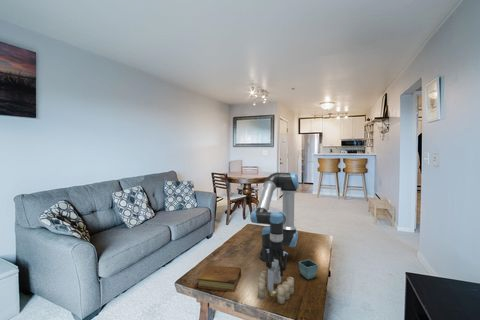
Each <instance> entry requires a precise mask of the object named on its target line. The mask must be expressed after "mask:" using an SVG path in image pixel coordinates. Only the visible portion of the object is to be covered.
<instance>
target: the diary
mask: <svg viewBox="0 0 480 320" xmlns="http://www.w3.org/2000/svg"><path fill="white" fill-rule="evenodd" d="M241 277H242V268H241V267H234V266H232V267H231V266H225V265H224V266H223V265H213V264H206V266H205V267H204V269H203V270H202V271H201V272H200V274H199V275H198V276H197V278H196V280H197V282H198V284H197V285H196V288H197V287H198V289H204V290H211V291H212V290H214V291H222V292H228V291H229V292H235V291H236V290H237V286H238V285H239V282H240V279H241Z"/></svg>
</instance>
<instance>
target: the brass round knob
mask: <svg viewBox="0 0 480 320" xmlns="http://www.w3.org/2000/svg"><path fill="white" fill-rule="evenodd" d="M268 295H269V297H271V298H277V287H276V288H275V287H274V291H273V292H272V291H268Z"/></svg>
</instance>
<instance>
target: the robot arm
mask: <svg viewBox="0 0 480 320" xmlns="http://www.w3.org/2000/svg"><path fill="white" fill-rule="evenodd" d="M262 186H263V189H262V191H261V195H260V198H259V201H258V204H257V207H256V210H252V211H251V213H250V221H251V223H254V224H258V225H259V224H260V225H267V226H264V227H263V228H262V229H261V248H260V251H259V259H261V260H262V261H265V266H266V268H268V269H271V268H272V261H273V260H274V259H276V260H278V261H279V267H280V270H279V284H281V283H282V277H283V276H284V271H287V264H288V263H287V261H288V255H289V252H288V251H284V247H290V248H295V247H296V245H297V242H298V238H299V231H298V230H297V227H296V226H295V193H296V192H297V190H298V189H299V188H300V183H299V177H298V174H297V173H295V172H278V171H277V172H274V173H271V174H270V175H268V177H266V179H265V180H264V181H263V185H262ZM277 188H278V189H280V191H281V192H282V211H279V212H271V211H270V212H269V209H270V206H271V205H270V204H271V202H272V198H273V194H274V191H275V190H276V189H277ZM282 256H283V260H282Z"/></svg>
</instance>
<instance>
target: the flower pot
mask: <svg viewBox="0 0 480 320" xmlns="http://www.w3.org/2000/svg"><path fill="white" fill-rule="evenodd" d="M298 268H299V272H300V274H301V275H302V276H303V278H305V279H307V280H311V279H314V278H315V277H316V275H317V274H318V268H319V265H318V264H317V263H315V262H314V261H312V260H311V259H304V260H301V261H298Z"/></svg>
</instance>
